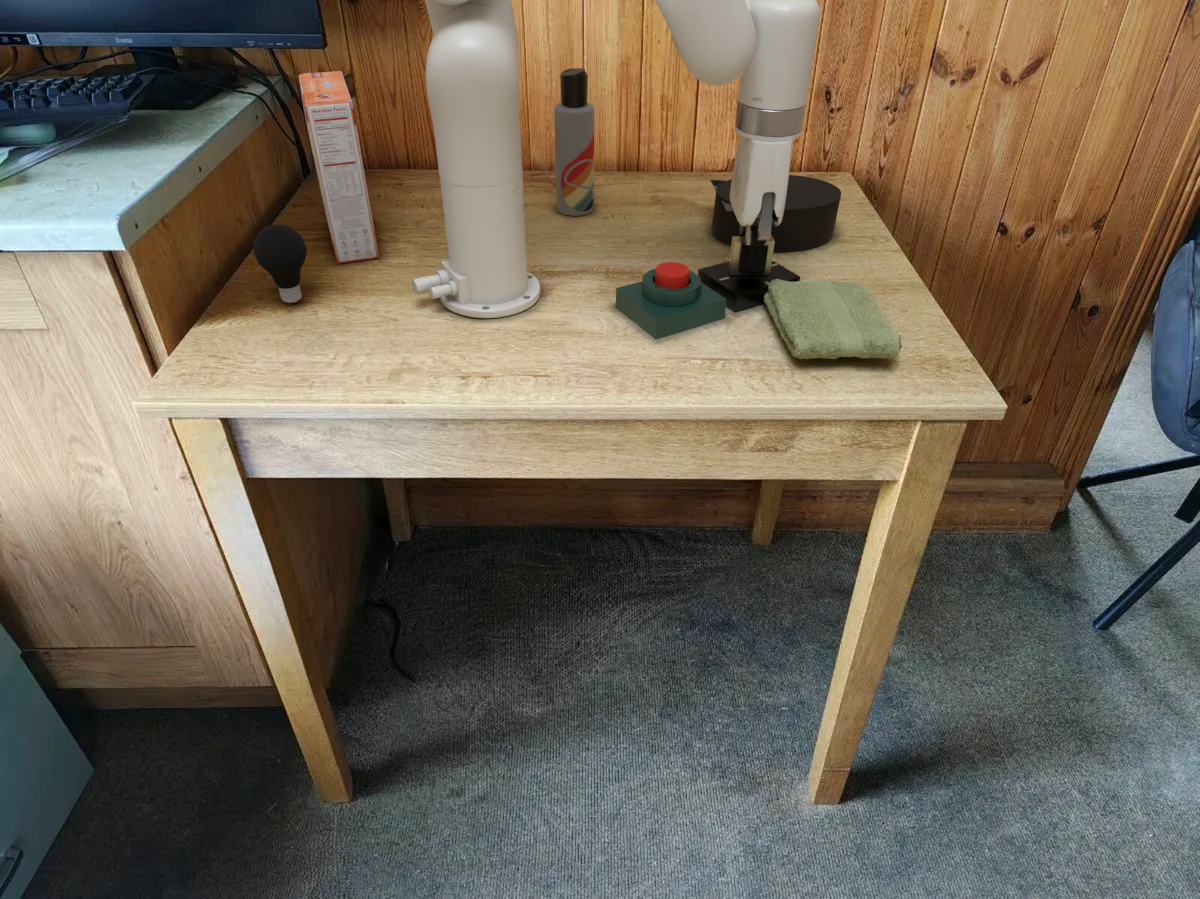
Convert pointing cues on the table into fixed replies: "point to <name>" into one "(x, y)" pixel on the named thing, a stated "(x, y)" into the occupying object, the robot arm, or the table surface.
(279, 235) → the light bulb
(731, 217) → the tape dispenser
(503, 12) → the robot arm
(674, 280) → the button
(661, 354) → the table surface
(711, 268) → the dial panel
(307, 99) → the cracker box
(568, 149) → the lotion bottle
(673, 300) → the button block
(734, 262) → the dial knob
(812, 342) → the washcloth
